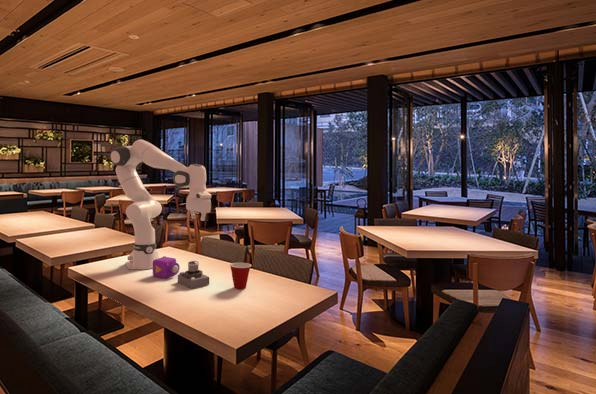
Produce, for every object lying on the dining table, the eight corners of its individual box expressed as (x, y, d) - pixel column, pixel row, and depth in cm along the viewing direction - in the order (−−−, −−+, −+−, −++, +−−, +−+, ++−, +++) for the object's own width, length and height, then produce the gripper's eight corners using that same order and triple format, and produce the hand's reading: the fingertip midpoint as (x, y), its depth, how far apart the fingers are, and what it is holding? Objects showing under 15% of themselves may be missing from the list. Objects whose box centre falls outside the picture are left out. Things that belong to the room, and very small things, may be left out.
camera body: (177, 282, 191) (177, 270, 191) (195, 278, 198) (195, 267, 198) (191, 288, 181) (191, 276, 181) (209, 284, 189) (209, 273, 188)
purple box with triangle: (173, 280, 195) (173, 261, 194) (150, 278, 198) (149, 259, 197) (183, 274, 206) (183, 256, 205) (161, 272, 209) (161, 254, 208)
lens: (186, 275, 190) (186, 261, 189) (195, 273, 193) (195, 260, 193) (191, 277, 186) (191, 263, 185) (200, 275, 190) (200, 262, 189)
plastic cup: (255, 287, 186) (256, 263, 185) (240, 292, 177) (240, 268, 176) (240, 282, 192) (240, 260, 192) (224, 288, 184) (224, 264, 183)
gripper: (183, 193, 205) (183, 217, 207) (202, 195, 191) (202, 222, 192) (193, 192, 210) (193, 217, 211) (213, 195, 195) (213, 221, 197)
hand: (197, 219), depth 201 cm, fingers open, 8 cm apart
